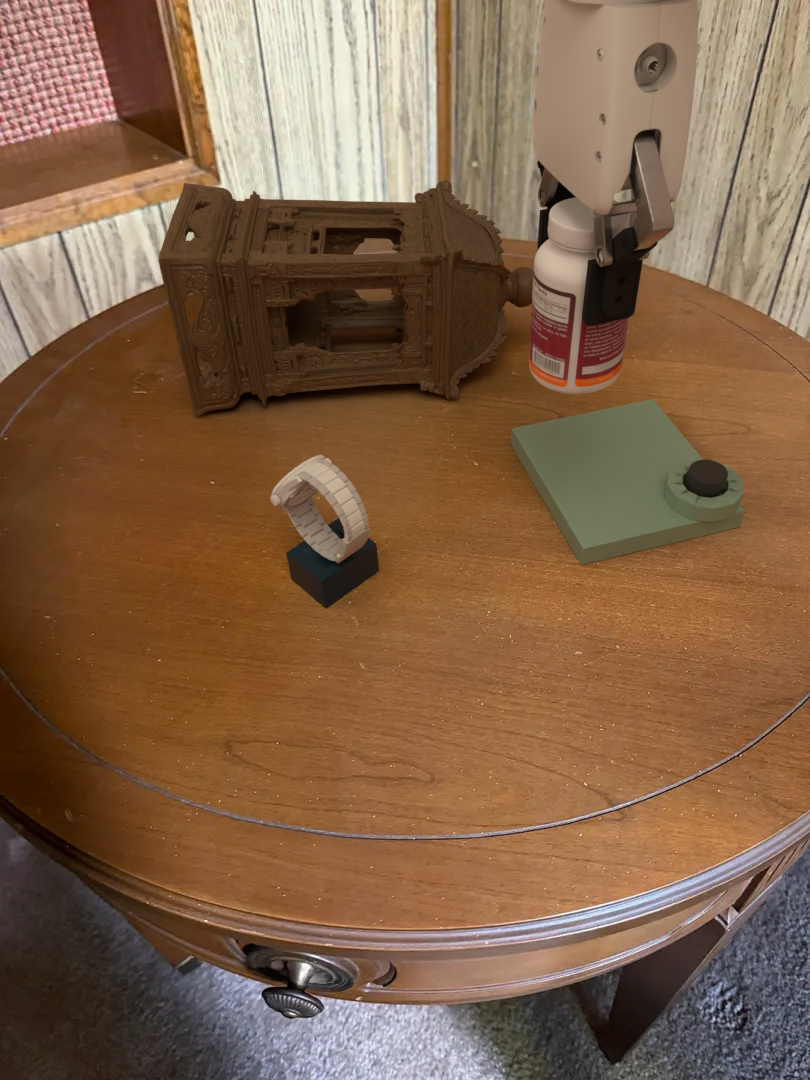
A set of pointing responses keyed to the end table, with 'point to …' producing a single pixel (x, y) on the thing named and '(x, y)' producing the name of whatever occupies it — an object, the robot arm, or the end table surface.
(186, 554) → the end table surface
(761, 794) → the end table surface
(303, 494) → the watch
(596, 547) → the scale
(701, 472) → the button
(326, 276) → the brown lantern
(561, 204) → the pill bottle
